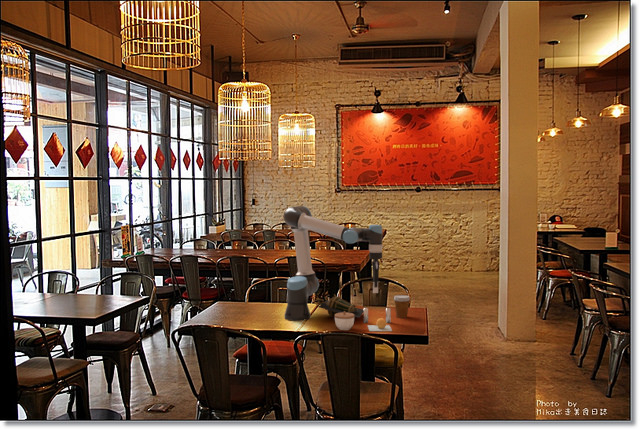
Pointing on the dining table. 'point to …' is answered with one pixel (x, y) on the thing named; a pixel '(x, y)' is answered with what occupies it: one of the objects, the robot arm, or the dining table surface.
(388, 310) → the post right
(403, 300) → the disposable coffee cup
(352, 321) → the lidded jar
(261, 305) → the dining table surface
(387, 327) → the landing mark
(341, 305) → the lantern
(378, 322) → the ball
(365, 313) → the post left
